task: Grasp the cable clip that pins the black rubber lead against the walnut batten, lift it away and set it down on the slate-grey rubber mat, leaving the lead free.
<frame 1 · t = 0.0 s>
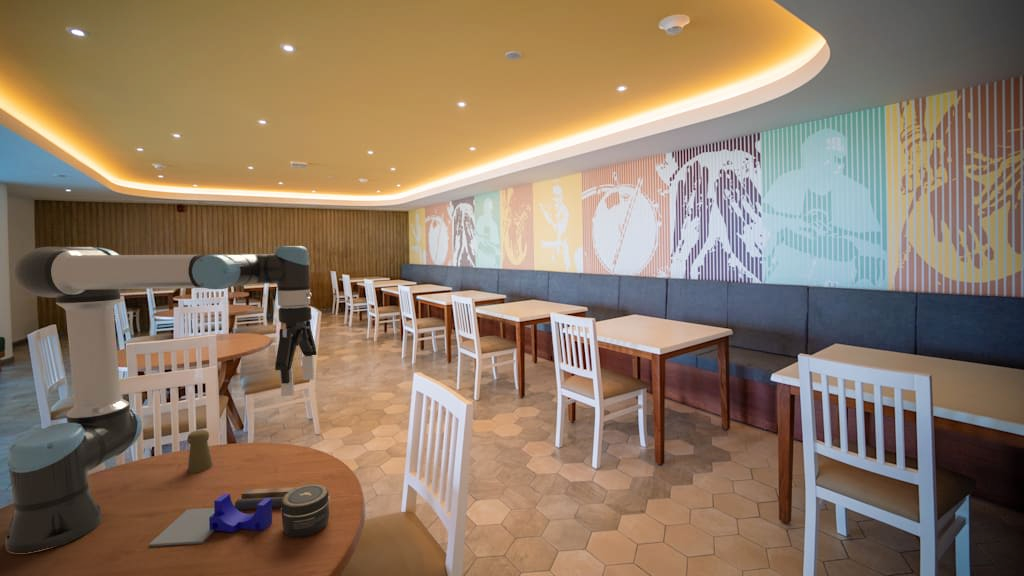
hand: (298, 387, 115), 28 cm above the table, tool pointing down, fingers open, 13 cm apart
lead: (267, 507, 110), on the table
mat: (195, 526, 102), on the table
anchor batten: (272, 499, 113), on the table
cable clip: (241, 527, 101), on the table, touching mat
jar: (306, 526, 102), on the table
cork: (200, 468, 130), on the table
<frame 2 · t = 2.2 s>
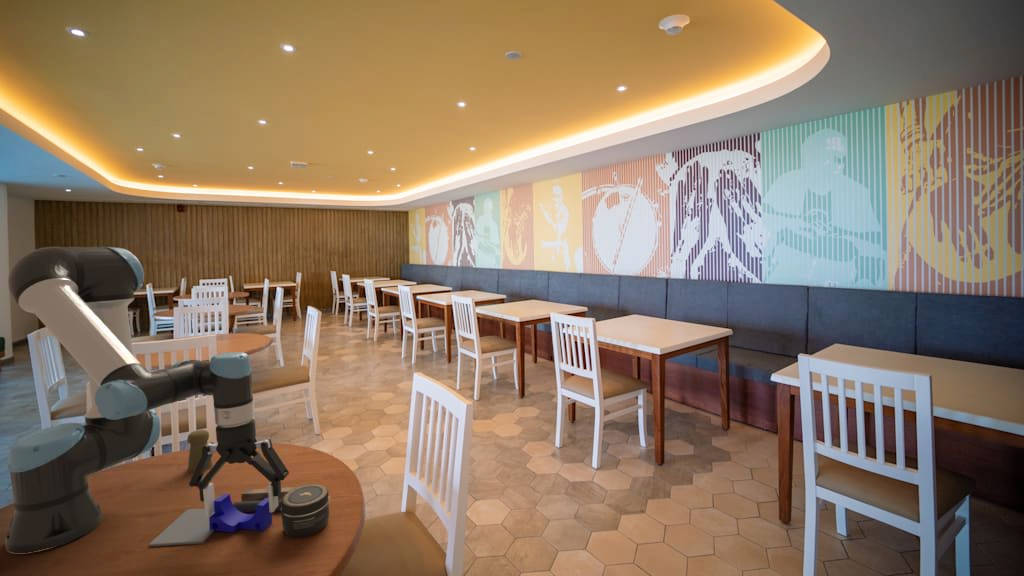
hand: (242, 512, 101), 4 cm above the table, tool pointing down, fingers open, 13 cm apart
lead: (266, 504, 110), on the table, tilted 69°
cable clip: (241, 527, 101), on the table, touching gripper, mat
everything else where it was.
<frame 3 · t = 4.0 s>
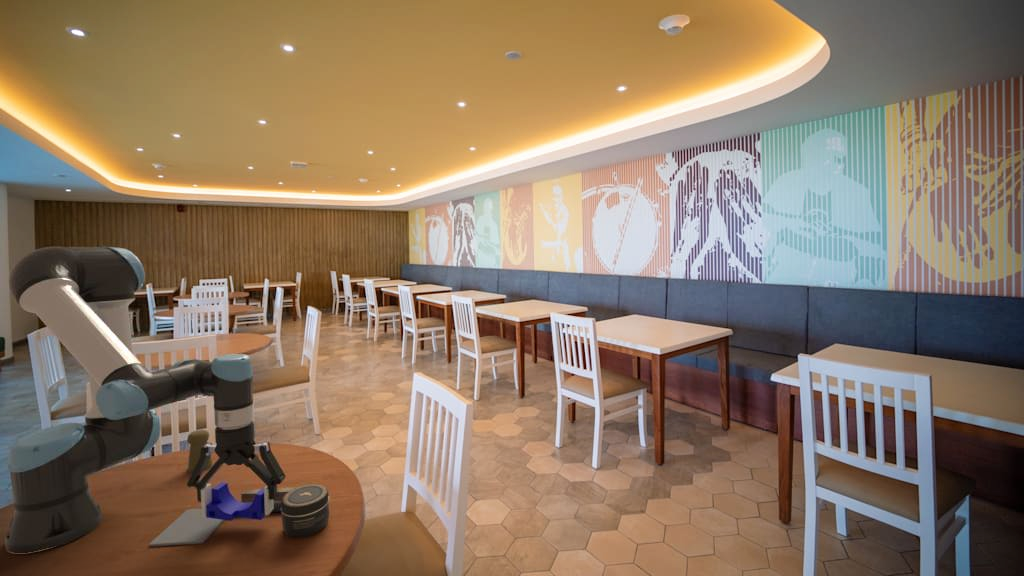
hand: (238, 513, 101), 3 cm above the table, tool pointing down, fingers closed on cable clip, 13 cm apart
lead: (265, 503, 109), point 1 cm above the table, tilted 95°
cable clip: (238, 515, 102), point 3 cm above the table, touching gripper
everything else where it was.
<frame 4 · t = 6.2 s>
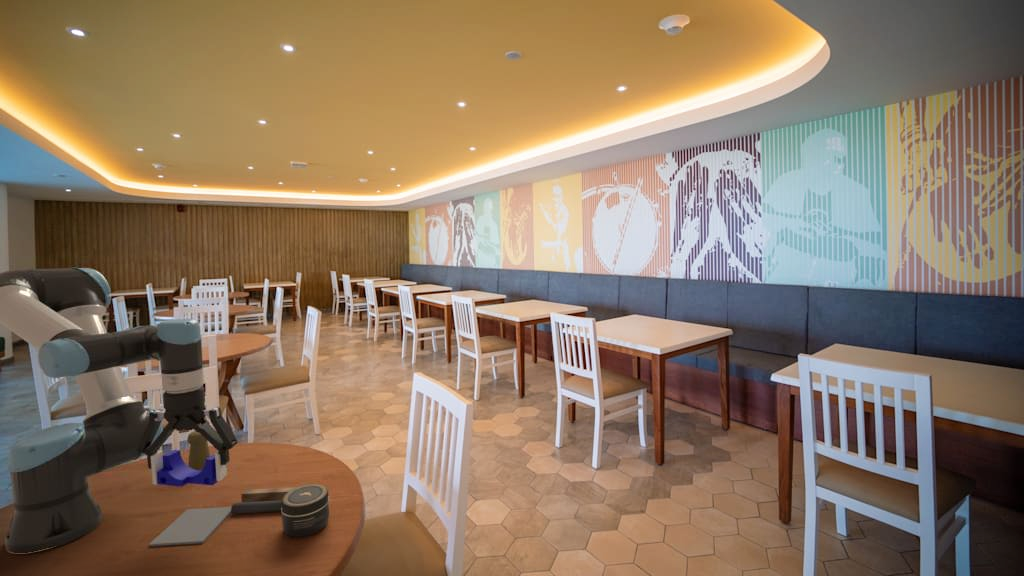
hand: (190, 479, 101), 11 cm above the table, tool pointing down, fingers closed on cable clip, 13 cm apart
lead: (266, 504, 109), point 1 cm above the table, tilted 90°
cable clip: (190, 482, 101), point 11 cm above the table, touching gripper
everything else where it was.
when the fingers open (2 cm above the table, at t = 8.6 s): cable clip drops 1 cm, resting on mat.
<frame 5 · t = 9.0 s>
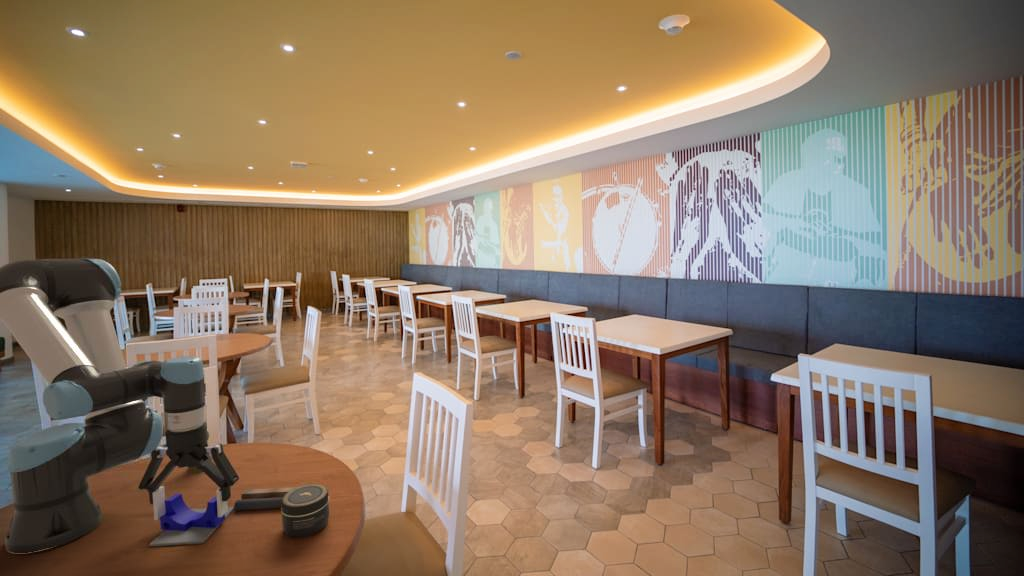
hand: (191, 515, 101), 3 cm above the table, tool pointing down, fingers open, 13 cm apart
lead: (267, 507, 110), on the table, tilted 16°
cable clip: (193, 525, 102), resting on mat
everything else where it was.
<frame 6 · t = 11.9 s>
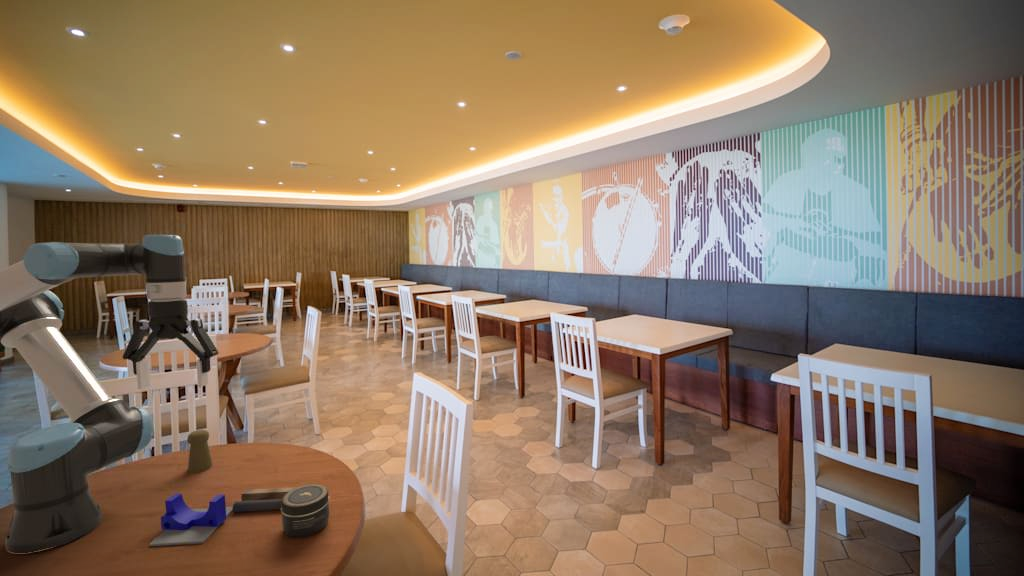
hand: (173, 386, 107), 31 cm above the table, tool pointing down, fingers open, 13 cm apart
lead: (266, 505, 110), on the table, tilted 55°
everything else where it was.
at the end: cable clip inside the target area on the mat (0.1 cm from its centre), point 0.3 cm above the mat's base; cable clip touching mat; the gripper is holding nothing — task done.
